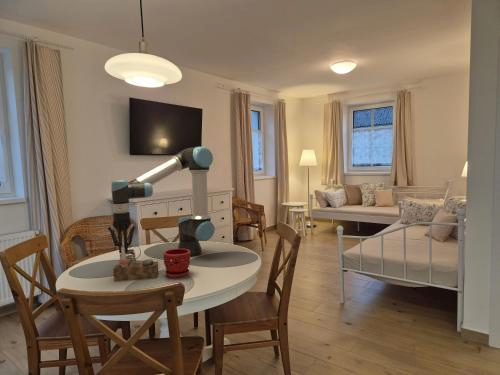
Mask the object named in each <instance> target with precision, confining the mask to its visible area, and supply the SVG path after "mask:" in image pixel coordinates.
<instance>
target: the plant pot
mask: <svg viewBox="0 0 500 375" xmlns="http://www.w3.org/2000/svg"><path fill="white" fill-rule="evenodd" d="M181 253H182V254H181ZM191 257H192V256H191V255H190V250H188V249H178V248H172V249H168V250H165V251H164V252H163V265H164V268H165V271H164V272H165V275H166V276H167V277H169V278H181V277H184V276H186V275H188V274H189V272H190V269H189V267H190V263H191Z"/></svg>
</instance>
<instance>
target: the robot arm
mask: <svg viewBox="0 0 500 375" xmlns="http://www.w3.org/2000/svg"><path fill="white" fill-rule="evenodd" d="M213 156H214V155H213V153H212V151H211V150H210V149H209V148H208V147H206V146H195V147H188V148H185V149H183V150H181V151H179V152H178V153H176V154H174V155H172V156H171V158H170V159H169V160H167V161H165V162H163V163H162V164H159V165H158V166H156V167H154V168H152V169H150V170H149V171H147V172H144V173H143V174H141V175H139V176H137V177H136V178H134V179H132V180H130V181H128V180H127V179H123V180H122V179H121V180H119V179H118V180H117V179H116V180H113V181H111V189H110V190H111V200H112V212H113V214H112V217H113V220H112V221H113V222H112V225H111V226H110V225H109V227H107V229H108V231H109V232H110V236H111V238H112V241H113V244H114V247H118V253H119V254H122V260H126V256H127V255H126V253H127V252H128V250H129V247H130V246H129V245H131V243H132V241H133V238H134V233H135V230H136V227H137V225H135V224H133V223H132V222H131V212H130V209H131V208H130V200H133V199H144V198H145V199H146V198H150V197H153V193H154V189H153V187H154V186H153V185H155V184H156V183H158V182H160V181H162V180H164V179H166V178H167V177H169V176H171V175H172V174H174V173H175V172H178V171H179V172H181V171H183V170H185V169H188V171H189V172H190V173H191V190H192V192H191V193H192V215H190V216H189V215H188V216H182V217H179V218H178V223H177V224H178V225H177V226H178V240H179V242H178V246H177V249H188V250H190V255H191V256H190V257H195V256H200V255H201V254H202V253H203V252H202V251H203V250H202V246H201V243H200V242H207V241H210V239H211V238H212V237H213V236H214V234H215V230H216V229H215V227H216V226H215V225H214V224H213V223H212V221H211V216H210V215H209V209H208V208H209V206H208V202H209V201H208V173H209V171H210V166H211V165H212V164H213V161H214V157H213ZM129 228H130V232H129V236H128V230H129ZM115 230H116V231H117V236H116V232H115ZM122 232H123V233H122ZM128 237H129V238H128ZM123 241H124V246H122V245H123V244H122V242H123ZM128 241H129V242H128ZM131 246H132V245H131ZM181 254H182V253H181Z"/></svg>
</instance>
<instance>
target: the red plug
mask: <svg viewBox="0 0 500 375" xmlns="http://www.w3.org/2000/svg"><path fill="white" fill-rule="evenodd" d="M129 262H130V259H128V258H126V260H122V259H120V258H119V260H118V264H121V267H128V263H129Z"/></svg>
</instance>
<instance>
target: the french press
mask: <svg viewBox="0 0 500 375" xmlns="http://www.w3.org/2000/svg"><path fill="white" fill-rule="evenodd" d="M128 242H129V240H128ZM122 244H123V245H122V246H124V240H122ZM131 246H133V247H134V248H136V247H137V248H138V249H139V255H138V256H137V257H136V253H135V249H129V248H128V252H127V253H126V258H128V259H130V262H129V263H128V264H131V263H137V259H139V258H140V256H141V254H142V250H141V248H140V246H139V245H137V244H136V242H135V241H133V240H132V243H131V245H129V246H128V247H131ZM120 259H122V254H121V253H119V260H120Z"/></svg>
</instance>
